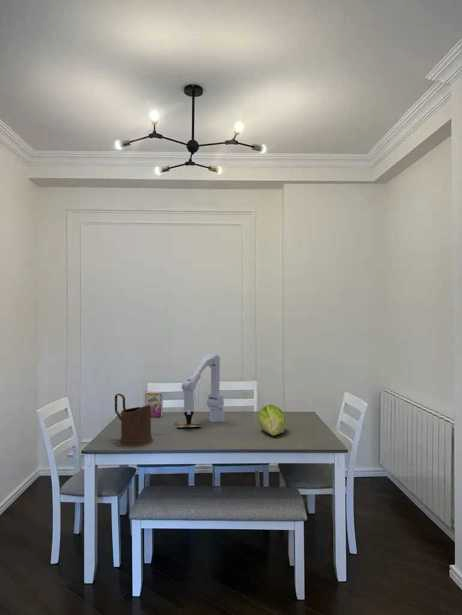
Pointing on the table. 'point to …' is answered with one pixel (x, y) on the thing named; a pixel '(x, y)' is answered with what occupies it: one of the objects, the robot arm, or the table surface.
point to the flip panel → (188, 425)
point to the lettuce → (272, 420)
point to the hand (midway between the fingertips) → (188, 424)
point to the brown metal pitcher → (134, 424)
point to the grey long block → (176, 422)
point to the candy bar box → (155, 403)
